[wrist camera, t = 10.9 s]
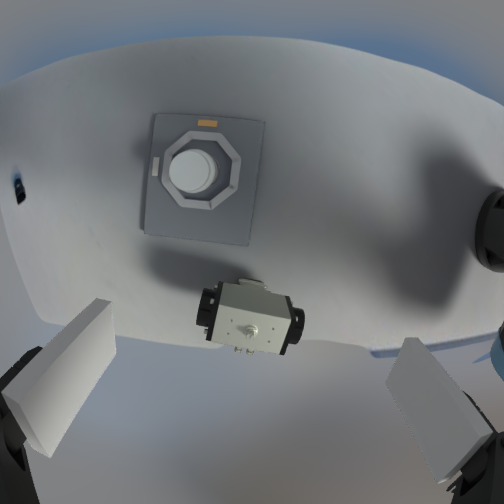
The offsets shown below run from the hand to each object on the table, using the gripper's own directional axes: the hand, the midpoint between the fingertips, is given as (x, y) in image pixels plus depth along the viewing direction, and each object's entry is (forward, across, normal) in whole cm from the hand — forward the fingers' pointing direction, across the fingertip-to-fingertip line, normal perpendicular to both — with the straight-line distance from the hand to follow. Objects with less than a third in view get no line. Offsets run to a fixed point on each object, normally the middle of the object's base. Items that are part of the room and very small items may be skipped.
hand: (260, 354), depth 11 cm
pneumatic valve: (+27, 0, +9) cm, 29 cm away
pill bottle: (+26, +8, -7) cm, 28 cm away
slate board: (+27, +8, -6) cm, 29 cm away
